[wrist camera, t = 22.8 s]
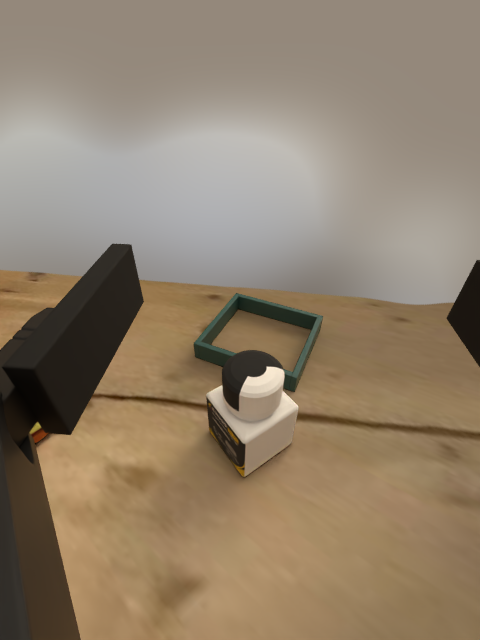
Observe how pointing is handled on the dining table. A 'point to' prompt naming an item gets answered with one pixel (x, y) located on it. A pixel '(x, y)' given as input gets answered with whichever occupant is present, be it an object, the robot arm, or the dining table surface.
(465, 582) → the dining table surface
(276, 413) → the medicine bottle
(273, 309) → the tray
